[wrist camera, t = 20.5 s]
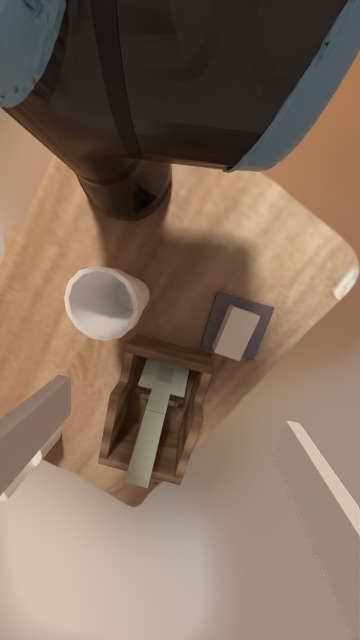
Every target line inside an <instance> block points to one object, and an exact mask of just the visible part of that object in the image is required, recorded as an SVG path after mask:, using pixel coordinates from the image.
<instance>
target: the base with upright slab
mask: <svg viewBox="0 0 360 640" xmlns="http://www.w3.org/2000/svg"><path fill="white" fill-rule="evenodd" d="M60 436H61V428H60V427H59V428H58V429H57V430H56V431H55V433H54V434H53V435H52V436H51V437H50V438H49V440H48V441H47V442H46V443H45V444H44V445H43V447H42V448H41V449H40V450H39V451H38V452H37V454H36V455H35V456H34V457H33V458H32V459H31V461H30V462H29V463H28V464H27V465H26V466H25V468H24V469H23V470H22V471H21V472H20V473H19V475H18V476H17V477H16V478H15V479H14V480H13V482H12V483H11V484H10V485H9V486H8V487H7V489H6V490H5V491H4V492H3V493H2V494H1V496H0V501H3V500H7V499H9V497H10V496H11V495H12V494H13V493H14V491H15V490H16V489H17V488H18V486H19V485H20V484H21V483H22V482H23V480H24V479H25V478H26V477H27V475H28V474H29V473H30V472H31V471H32V469H33V468H34V467H35V466H36V465H38V464H39V463H40V462H41V461H42V459H43V458H44V457H45V456H46V454H47V453H48V452H49V451H50V449H51V448H52V447H53V446H54V445H55V443H56V442H57V441H58V440H59V438H60Z"/></svg>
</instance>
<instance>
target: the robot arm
mask: <svg viewBox="0 0 360 640" xmlns="http://www.w3.org/2000/svg"><path fill="white" fill-rule="evenodd" d="M359 51H360V0H0V107H1V108H2V109H3V110H4V111H5V112H7V113H8V114H9V115H10V116H11V117H12V118H14V119H15V120H16V121H17V122H18V123H19V124H20V125H21V126H23V127H24V128H25V129H26V130H27V131H28V132H30V133H31V134H32V135H33V136H34V137H35V138H36V139H37V140H39V141H40V142H41V143H42V144H43V145H44V146H45V147H47V148H48V149H49V150H50V151H51V152H52V153H53V154H54V155H56V156H57V157H58V158H59V159H60V160H61V161H62V162H64V163H65V164H66V165H67V166H68V167H69V168H70V169H72V170H73V171H74V173H75V174H76V176H77V177H78V180H79V182H80V185H81V186H82V188H83V190H84V192H85V193H86V195H87V196H88V198H89V199H90V200H91V201H92V202H93V203H94V204H95V205H96V206H97V207H98V208H99V209H101V210H102V211H104V212H105V213H106V214H108V215H110V216H112V217H114V218H116V219H120V220H125V221H132V220H138V219H141V218H144V217H146V216H148V215H149V214H151V213H152V212H153V211H155V210H156V209H157V208H158V206H159V205H160V204H161V203H162V201H163V200H164V198H165V196H166V194H167V191H168V188H169V185H170V180H171V164H179V165H188V166H196V167H204V168H213V169H221V170H223V172H227V173H230V172H233V171H235V170H240V171H265V170H268V169H270V168H272V167H273V166H275V165H276V164H277V163H279V162H281V161H282V160H283V159H285V158H286V157H287V156H288V155H289V154H290V153H291V152H292V151H293V150H294V149H295V148H296V146H297V145H298V144H299V143H300V142H301V141H302V139H303V138H304V137H305V135H306V134H307V133H308V132H309V130H310V129H311V128H312V126H313V125H314V124H315V122H316V121H317V119H318V118H319V116H320V115H321V113H322V112H323V110H324V109H325V107H326V106H327V104H328V103H329V101H330V99H331V98H332V97H333V95H334V93H335V92H336V90H337V89H338V86H339V85H340V84H341V82H342V80H343V78H344V77H345V75H346V74H347V72H348V70H349V68H350V67H351V65H352V63H353V61H354V60H355V58H356V56H357V54H358V52H359ZM70 409H71V377H66V376H61V375H58V376H57V377H55V378H54V379H53V380H51V381H50V382H49V383H48V384H46V385H45V386H44V387H42V388H41V389H40V390H38V391H37V392H36V393H35V394H33V395H32V396H31V397H29V398H28V399H27V400H25V401H24V402H23V403H22V404H20V405H19V406H18V407H16V408H15V409H14V410H12V411H11V412H10V413H9V414H7V415H6V416H5V417H3V418H2V419H1V420H0V496H1V494H2V493H3V492H4V491H5V490H6V489H7V487H8V486H9V485H10V484H11V483H12V482H13V480H14V479H15V478H16V477H17V476H18V475H19V473H20V472H21V471H22V470H23V469H24V468H25V466H26V465H27V464H28V463H29V462H30V461H31V459H32V458H33V457H34V456H35V455H36V454H37V452H38V451H39V450H40V449H41V448H42V447H43V445H44V444H45V443H46V442H47V441H48V440H49V438H50V437H51V436H52V435H53V434H54V433H55V431H56V430H57V429H58V428H59V427H60V426H61V424H62V423H63V422H64V421H65V420H66V419H67V417H68V416H69V415H70ZM272 457H273V459H274V461H275V464H276V466H277V469H278V471H279V473H280V476H281V478H282V480H283V482H284V485H285V487H286V489H287V492H288V494H289V496H290V499H291V501H292V503H293V506H294V508H295V510H296V512H297V515H298V517H299V519H300V522H301V524H302V526H303V528H304V531H305V533H306V535H307V538H308V540H309V542H310V545H311V547H312V549H313V552H314V554H315V556H316V559H317V561H318V563H319V566H320V568H321V570H322V572H323V575H324V577H325V579H326V582H327V584H328V586H329V589H330V591H331V593H332V596H333V598H334V600H335V602H336V605H337V607H338V609H339V612H340V614H341V616H342V619H343V621H344V623H345V625H346V628H347V630H348V632H349V635H350V637H351V639H352V640H360V508H359V507H358V505H357V504H356V503H355V501H354V500H353V498H352V497H351V495H350V494H349V493H348V491H347V490H346V489H345V487H344V486H343V484H342V483H341V481H340V480H339V479H338V477H337V476H336V474H335V473H334V472H333V470H332V469H331V467H330V466H329V464H328V463H327V462H326V460H325V459H324V457H323V456H322V455H321V453H320V452H319V450H318V449H317V447H316V446H315V445H314V443H313V442H312V440H311V439H310V438H309V436H308V435H307V433H306V432H305V431H304V429H303V428H302V426H301V425H300V424H299V423H295V422H290V421H286V423H285V425H284V428H283V430H282V432H281V435H280V437H279V439H278V442H277V444H276V446H275V449H274V451H273V453H272Z"/></svg>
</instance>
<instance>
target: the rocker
mask: <svg viewBox="0 0 360 640" xmlns="http://www.w3.org/2000/svg"><path fill="white" fill-rule="evenodd" d="M188 373H189V369H186V368H182V367H179V366H175V365H171V364H167V363H164V362H160V361H156V360H152V359H148V358H147V360H146V363H145V366H144V369H143V372H142V375H141V378H140V381H139V384H138V386H140V387H143V388H147V389H151V393H150V395H149V394H145V393H144V394H143V397H142V398H143V399H147V400H148V403H147V406H146V410H145V413H144V417H143V420H142V423H141V427H140V430H139V434H138V437H137V440H136V444H135V447H134V450H133V454H132V457H131V461H130V464H129V467H128V471H127V474H126V477H125V481H124V482H125V483H129V484H133V485H137V486H140V487H144V488H148V485H149V481H150V477H151V472H152V468H153V464H154V460H155V456H156V451H157V447H158V443H159V439H160V434H161V430H162V426H163V422H164V417H165V414H166V409H167V405H170V406H173V407H174V403H175V401H171V400H169V396H170V395H173V396H177V397H181V398H184V394H185V389H186V384H187V379H188Z"/></svg>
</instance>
